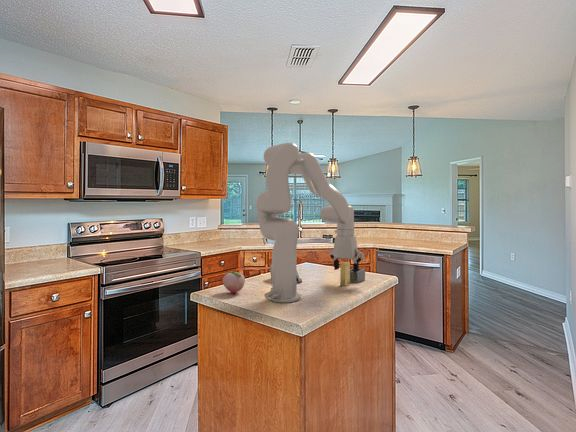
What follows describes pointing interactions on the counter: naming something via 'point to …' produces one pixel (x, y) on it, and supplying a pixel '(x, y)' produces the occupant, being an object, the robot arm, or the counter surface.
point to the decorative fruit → (233, 281)
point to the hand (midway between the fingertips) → (346, 270)
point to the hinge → (297, 274)
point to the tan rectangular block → (344, 273)
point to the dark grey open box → (357, 275)
